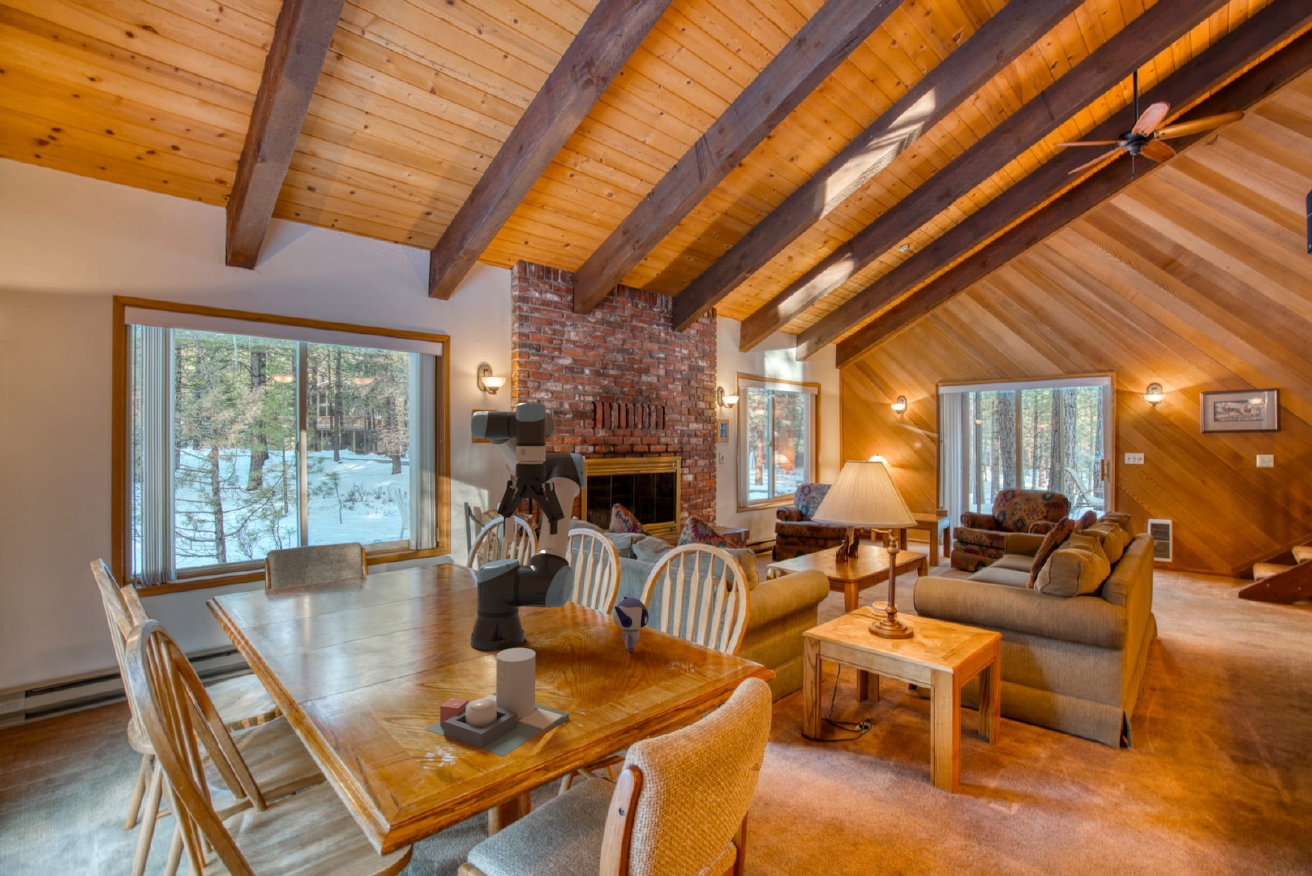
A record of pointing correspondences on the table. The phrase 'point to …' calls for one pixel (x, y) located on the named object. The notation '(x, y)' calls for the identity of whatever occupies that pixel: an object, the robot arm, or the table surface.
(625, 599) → the toy
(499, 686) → the white cylinder
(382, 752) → the table surface
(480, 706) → the dome
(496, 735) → the board
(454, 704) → the die
